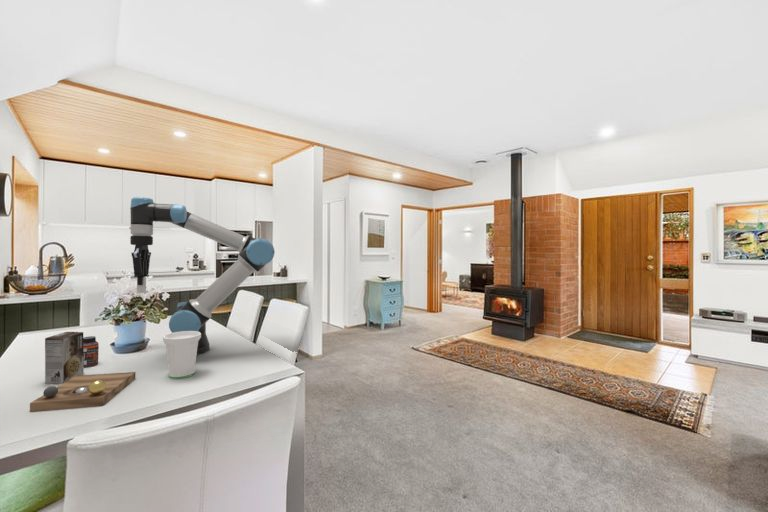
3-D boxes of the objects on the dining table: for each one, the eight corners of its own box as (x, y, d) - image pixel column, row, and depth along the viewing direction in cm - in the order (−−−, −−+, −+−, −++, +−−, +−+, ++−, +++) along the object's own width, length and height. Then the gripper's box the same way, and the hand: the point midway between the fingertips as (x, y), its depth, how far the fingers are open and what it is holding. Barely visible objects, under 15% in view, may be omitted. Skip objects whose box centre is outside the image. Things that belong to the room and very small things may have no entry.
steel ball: (92, 390, 111) (88, 384, 109) (87, 399, 108) (83, 393, 106) (80, 391, 110) (76, 385, 108) (74, 401, 107) (70, 395, 105)
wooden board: (76, 382, 120) (76, 375, 120) (135, 378, 124) (135, 371, 124) (29, 411, 99) (29, 403, 98) (103, 405, 103) (103, 397, 103)
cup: (160, 383, 121) (161, 340, 121) (164, 371, 132) (164, 332, 132) (200, 377, 127) (200, 336, 126) (200, 367, 138) (201, 329, 138)
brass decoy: (108, 390, 108) (108, 377, 108) (101, 396, 104) (101, 382, 104) (92, 391, 107) (92, 378, 107) (84, 397, 103) (85, 383, 103)
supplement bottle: (86, 368, 134) (87, 339, 134) (74, 366, 135) (75, 338, 135) (102, 363, 140) (102, 336, 140) (90, 362, 141) (90, 335, 141)
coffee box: (65, 374, 127) (66, 331, 127) (84, 374, 128) (84, 331, 128) (43, 384, 118) (43, 337, 118) (63, 383, 119) (63, 337, 118)
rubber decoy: (60, 394, 105) (60, 383, 105) (53, 398, 102) (53, 388, 101) (47, 395, 104) (48, 384, 104) (40, 399, 101) (40, 389, 101)
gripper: (138, 235, 145) (137, 290, 145) (123, 234, 132) (123, 295, 133) (158, 236, 147) (157, 290, 147) (145, 235, 134) (145, 294, 135)
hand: (141, 292), depth 140 cm, fingers closed
